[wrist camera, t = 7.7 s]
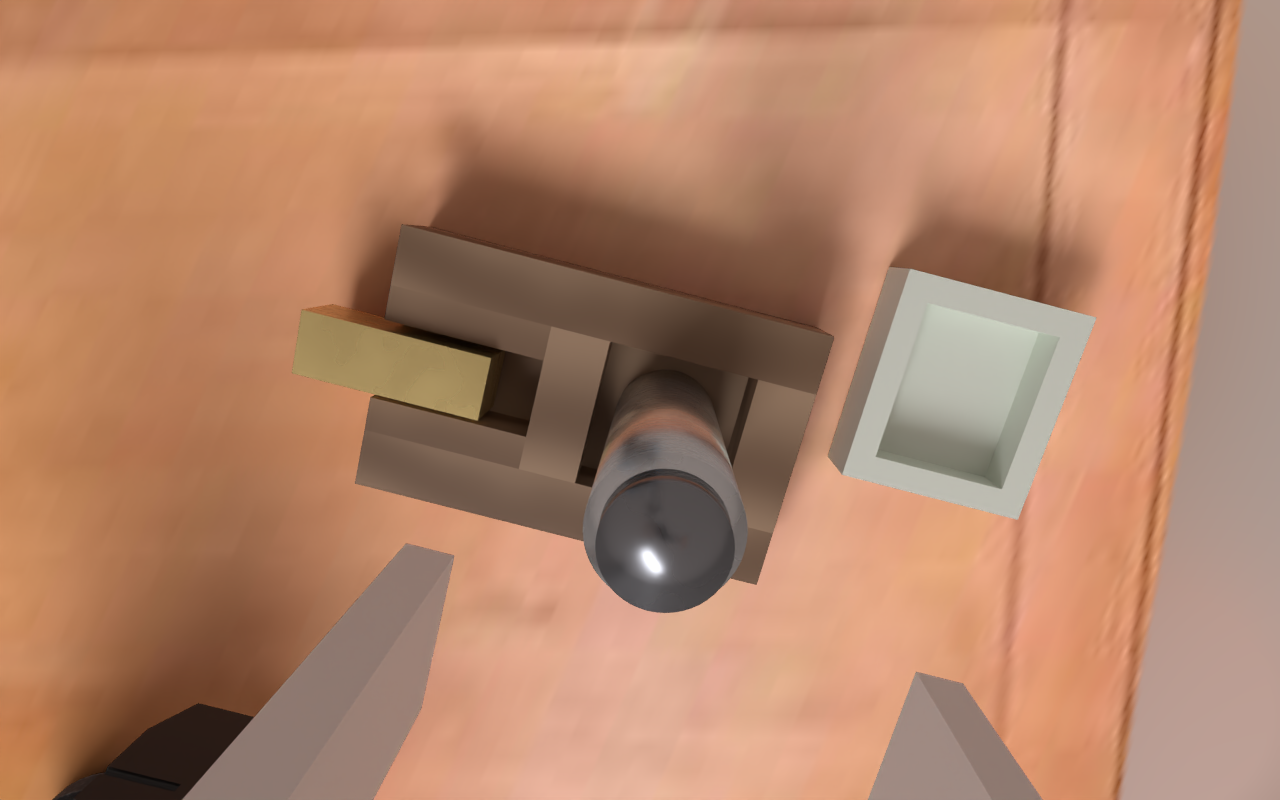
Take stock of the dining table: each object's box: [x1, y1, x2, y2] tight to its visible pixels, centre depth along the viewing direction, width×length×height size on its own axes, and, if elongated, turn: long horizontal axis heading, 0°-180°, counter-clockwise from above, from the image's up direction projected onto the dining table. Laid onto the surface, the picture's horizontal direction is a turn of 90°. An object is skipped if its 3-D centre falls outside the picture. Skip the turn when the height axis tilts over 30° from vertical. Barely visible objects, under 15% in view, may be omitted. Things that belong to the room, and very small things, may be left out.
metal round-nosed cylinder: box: [583, 370, 748, 613], centre depth 23 cm, size 4×4×13 cm
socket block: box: [355, 224, 834, 585], centre depth 28 cm, size 10×16×3 cm, turn 76°
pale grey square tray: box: [828, 267, 1096, 520], centre depth 28 cm, size 8×7×2 cm
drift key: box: [292, 304, 505, 421], centre depth 28 cm, size 2×7×2 cm, turn 76°
